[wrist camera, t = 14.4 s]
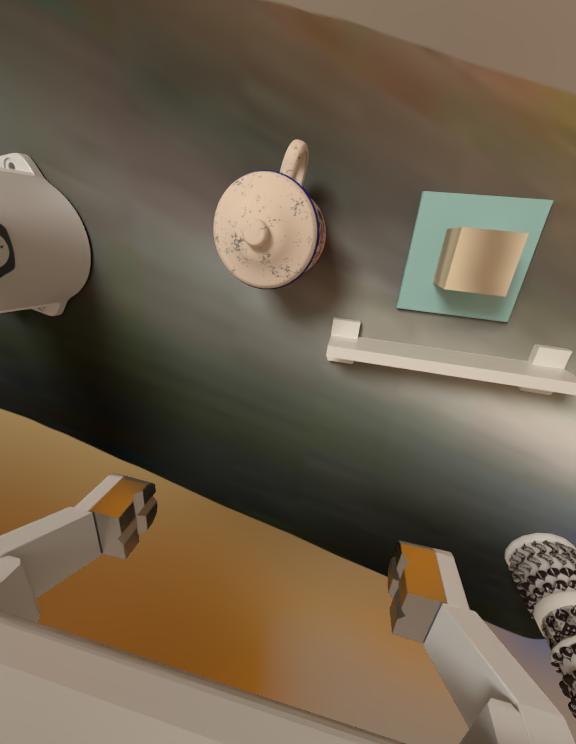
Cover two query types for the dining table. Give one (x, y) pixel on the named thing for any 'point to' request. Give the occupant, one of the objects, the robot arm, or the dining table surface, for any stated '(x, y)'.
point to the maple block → (479, 260)
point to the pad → (472, 213)
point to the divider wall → (455, 361)
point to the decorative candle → (550, 597)
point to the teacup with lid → (270, 224)
